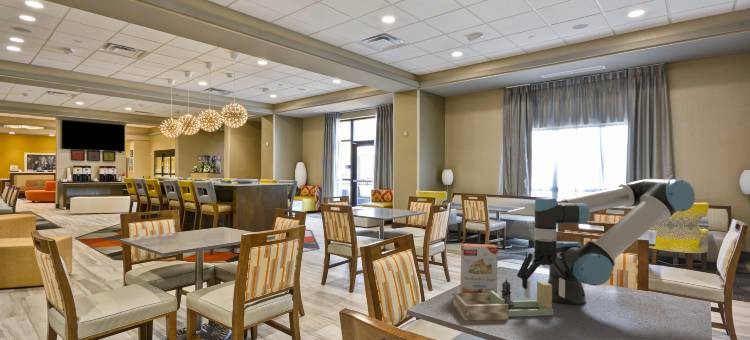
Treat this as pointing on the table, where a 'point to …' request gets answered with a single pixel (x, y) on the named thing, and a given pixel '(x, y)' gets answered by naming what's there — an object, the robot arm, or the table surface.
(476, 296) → the frame
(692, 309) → the table surface
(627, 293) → the table surface
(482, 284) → the cracker box
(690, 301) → the table surface
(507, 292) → the chess piece
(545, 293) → the tray
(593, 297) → the table surface
